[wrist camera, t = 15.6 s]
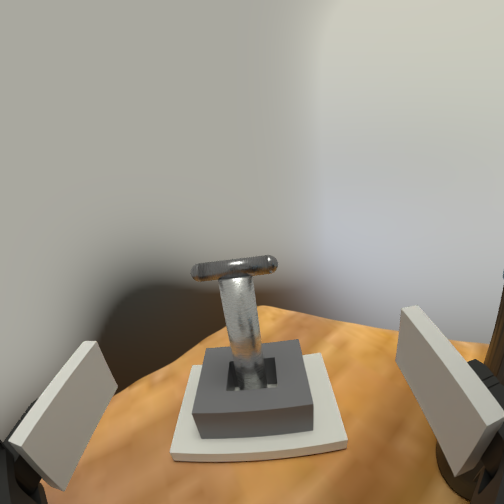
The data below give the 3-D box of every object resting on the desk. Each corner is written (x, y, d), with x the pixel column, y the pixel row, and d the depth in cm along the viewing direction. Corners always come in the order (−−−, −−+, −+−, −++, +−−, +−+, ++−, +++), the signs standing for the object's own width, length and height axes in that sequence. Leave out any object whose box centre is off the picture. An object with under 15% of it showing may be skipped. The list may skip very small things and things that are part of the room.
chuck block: (320, 361, 38) (320, 327, 36) (346, 448, 24) (351, 413, 22) (194, 373, 39) (185, 340, 37) (173, 460, 24) (156, 427, 23)
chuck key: (288, 387, 32) (275, 249, 27) (291, 405, 29) (278, 260, 24) (222, 393, 32) (192, 259, 28) (220, 411, 29) (185, 270, 25)
